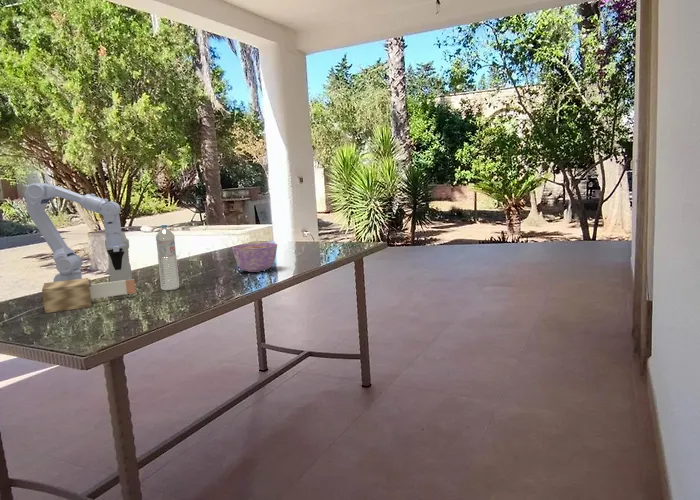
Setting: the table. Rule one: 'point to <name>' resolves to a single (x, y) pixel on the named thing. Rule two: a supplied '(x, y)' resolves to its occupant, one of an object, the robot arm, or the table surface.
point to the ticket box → (66, 295)
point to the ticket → (112, 288)
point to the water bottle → (167, 259)
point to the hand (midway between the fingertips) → (117, 268)
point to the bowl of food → (255, 256)
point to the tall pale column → (126, 267)
